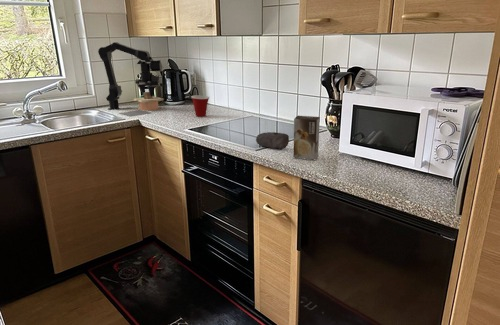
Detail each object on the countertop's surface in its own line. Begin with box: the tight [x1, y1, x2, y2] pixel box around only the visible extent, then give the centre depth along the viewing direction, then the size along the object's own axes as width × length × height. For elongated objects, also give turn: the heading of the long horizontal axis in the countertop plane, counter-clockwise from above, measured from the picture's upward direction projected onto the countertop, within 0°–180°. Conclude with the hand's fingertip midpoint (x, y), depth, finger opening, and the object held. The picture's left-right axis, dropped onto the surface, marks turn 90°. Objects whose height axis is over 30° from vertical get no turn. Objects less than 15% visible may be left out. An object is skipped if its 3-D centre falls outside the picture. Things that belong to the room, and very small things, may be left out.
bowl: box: [138, 101, 160, 111], centre depth 248 cm, size 12×12×6 cm
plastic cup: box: [190, 94, 210, 118], centre depth 226 cm, size 11×11×12 cm
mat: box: [118, 109, 151, 118], centre depth 234 cm, size 15×15×1 cm
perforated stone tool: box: [255, 131, 290, 150], centre depth 162 cm, size 15×5×7 cm, turn 59°
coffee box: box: [292, 115, 321, 160], centre depth 147 cm, size 9×6×16 cm
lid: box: [132, 91, 164, 103], centre depth 246 cm, size 14×14×5 cm
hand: (147, 95), depth 246 cm, fingers open, 9 cm apart
